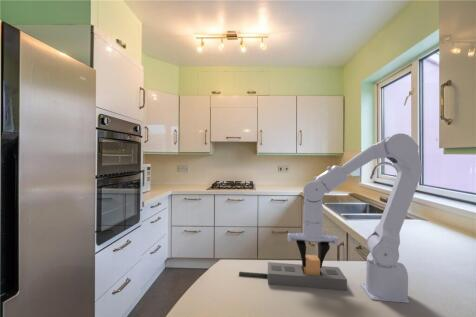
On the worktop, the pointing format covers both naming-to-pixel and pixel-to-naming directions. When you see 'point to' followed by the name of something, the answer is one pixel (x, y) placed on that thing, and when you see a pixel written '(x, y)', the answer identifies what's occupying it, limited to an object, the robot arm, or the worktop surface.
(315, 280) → the power strip
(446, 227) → the worktop surface
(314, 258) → the orange rectangular block
